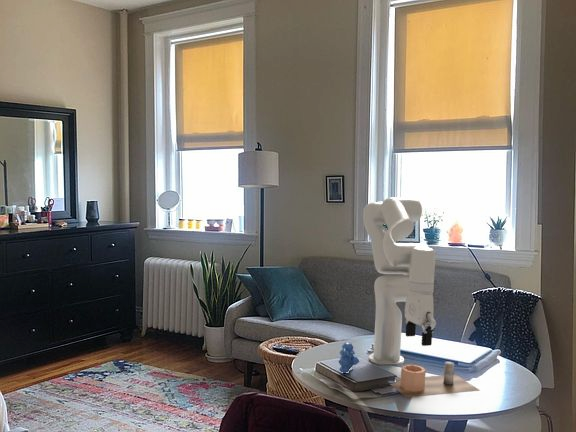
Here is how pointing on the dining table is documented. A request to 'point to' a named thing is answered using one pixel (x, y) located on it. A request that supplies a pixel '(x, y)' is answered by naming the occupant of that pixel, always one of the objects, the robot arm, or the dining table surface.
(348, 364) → the grapes
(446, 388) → the stand
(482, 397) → the dining table surface
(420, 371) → the collar
